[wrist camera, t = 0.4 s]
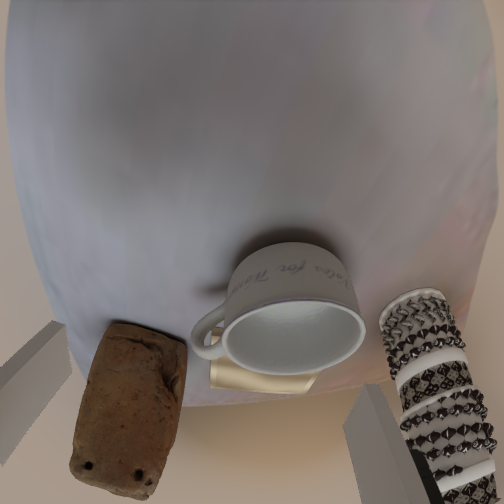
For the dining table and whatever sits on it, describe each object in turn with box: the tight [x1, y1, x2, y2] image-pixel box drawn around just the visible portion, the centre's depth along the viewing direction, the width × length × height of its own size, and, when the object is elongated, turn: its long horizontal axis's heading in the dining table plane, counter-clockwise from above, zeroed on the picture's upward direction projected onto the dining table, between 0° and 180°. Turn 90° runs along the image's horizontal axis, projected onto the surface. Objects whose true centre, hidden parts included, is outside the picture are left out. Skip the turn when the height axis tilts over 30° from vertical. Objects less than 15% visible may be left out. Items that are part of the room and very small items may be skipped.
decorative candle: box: [378, 288, 501, 504], centre depth 22 cm, size 9×9×25 cm
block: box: [69, 324, 187, 501], centre depth 29 cm, size 11×8×20 cm
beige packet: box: [210, 327, 321, 394], centre depth 38 cm, size 14×14×1 cm
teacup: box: [190, 242, 366, 375], centre depth 25 cm, size 14×11×8 cm
